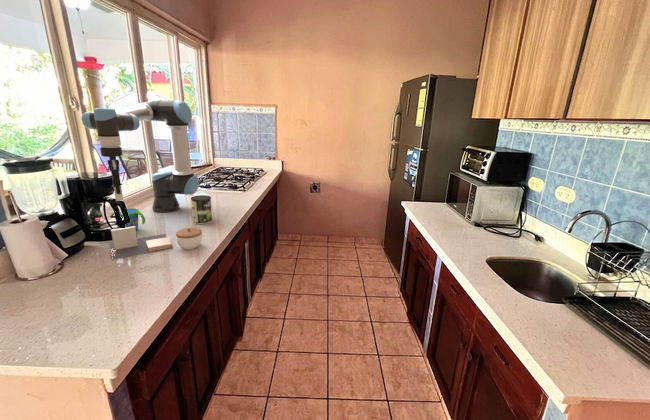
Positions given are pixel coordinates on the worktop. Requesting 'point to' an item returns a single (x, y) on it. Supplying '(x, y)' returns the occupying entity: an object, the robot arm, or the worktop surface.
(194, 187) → the robot arm
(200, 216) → the coffee can
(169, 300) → the worktop surface
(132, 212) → the snack cup
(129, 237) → the white square tile
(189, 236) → the lidded jar
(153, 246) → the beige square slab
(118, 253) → the mat
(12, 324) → the worktop surface
